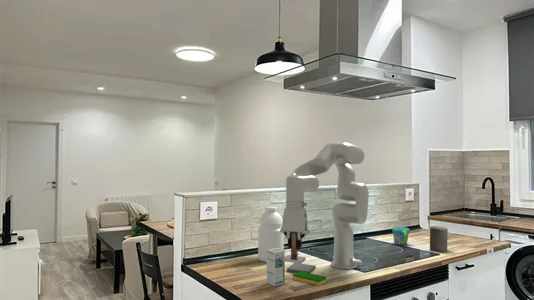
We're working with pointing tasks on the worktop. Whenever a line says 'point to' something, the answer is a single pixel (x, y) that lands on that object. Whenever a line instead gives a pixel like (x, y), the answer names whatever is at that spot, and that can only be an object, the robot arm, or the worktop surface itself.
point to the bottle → (269, 232)
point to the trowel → (294, 251)
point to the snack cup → (400, 235)
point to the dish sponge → (309, 278)
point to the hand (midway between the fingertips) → (294, 248)
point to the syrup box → (275, 267)
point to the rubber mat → (301, 268)
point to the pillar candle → (438, 238)
